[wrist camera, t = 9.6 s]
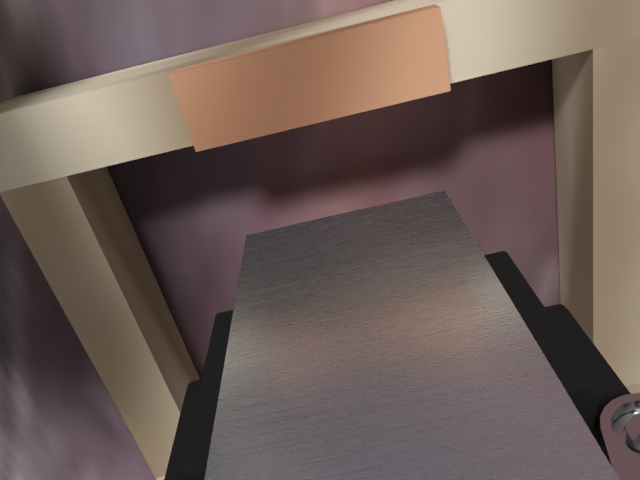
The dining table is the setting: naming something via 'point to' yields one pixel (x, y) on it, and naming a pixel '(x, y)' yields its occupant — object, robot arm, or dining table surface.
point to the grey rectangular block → (388, 360)
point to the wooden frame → (305, 109)
